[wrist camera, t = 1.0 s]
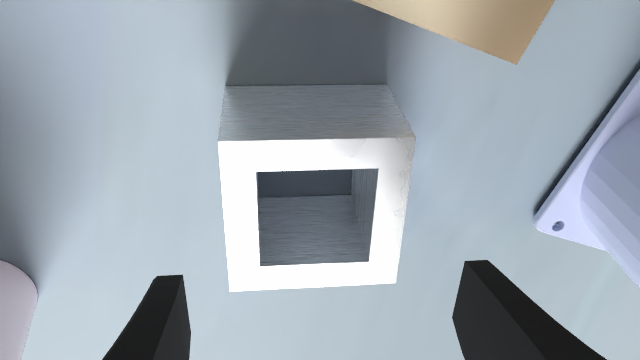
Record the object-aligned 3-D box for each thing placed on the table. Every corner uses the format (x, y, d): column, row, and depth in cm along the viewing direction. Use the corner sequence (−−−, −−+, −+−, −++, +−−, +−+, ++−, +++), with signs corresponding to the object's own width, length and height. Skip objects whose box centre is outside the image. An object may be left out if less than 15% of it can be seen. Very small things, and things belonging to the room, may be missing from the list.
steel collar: (387, 84, 19) (415, 137, 15) (373, 214, 22) (395, 282, 18) (225, 86, 18) (218, 141, 15) (234, 219, 21) (230, 291, 18)
